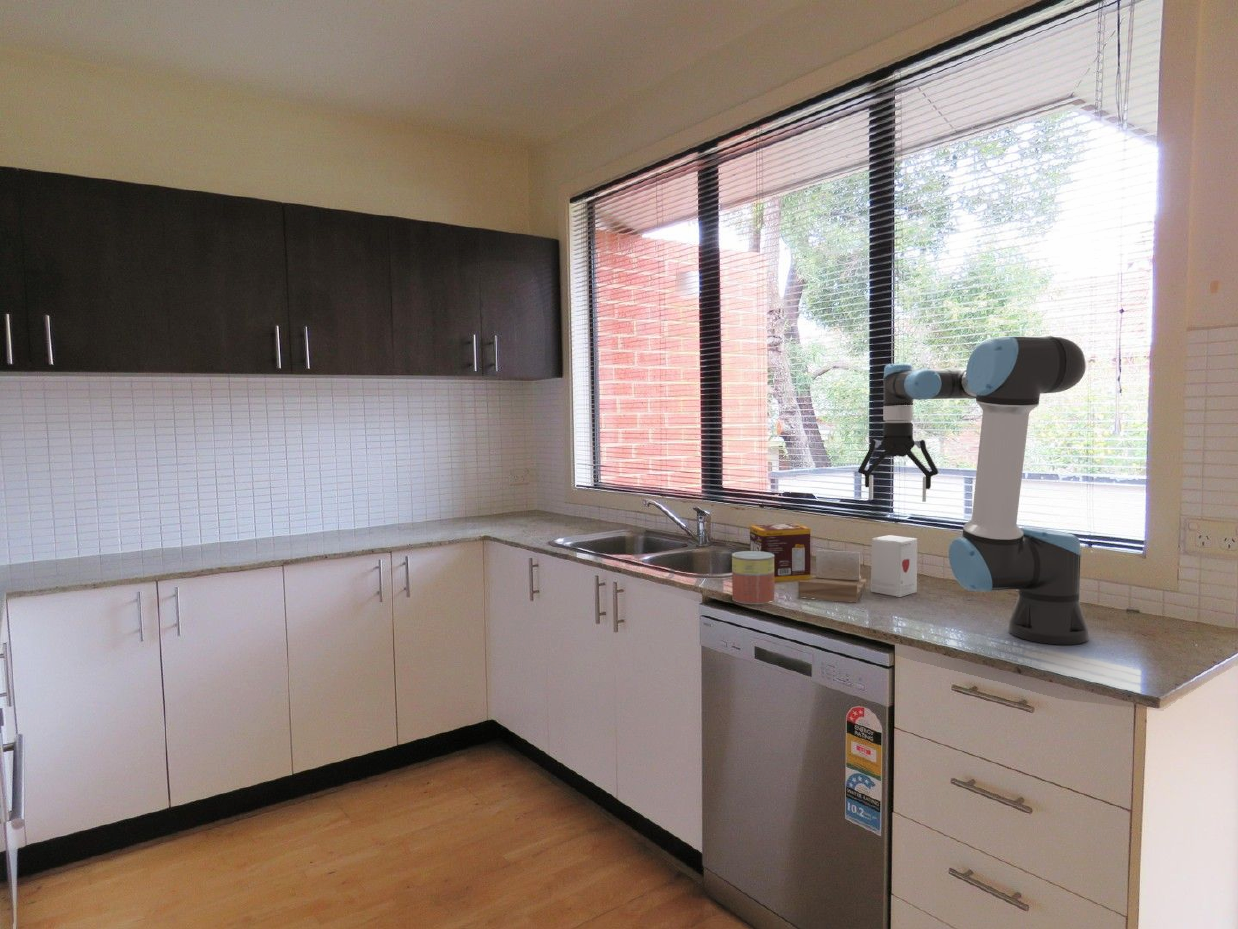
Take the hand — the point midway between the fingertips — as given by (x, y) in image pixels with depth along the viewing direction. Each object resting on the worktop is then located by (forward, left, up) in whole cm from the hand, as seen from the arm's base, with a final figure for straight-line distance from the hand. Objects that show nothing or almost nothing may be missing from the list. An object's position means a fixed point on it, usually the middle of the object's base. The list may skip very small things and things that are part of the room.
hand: (897, 500), depth 206 cm
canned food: (-20, +35, -26) cm, 48 cm away
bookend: (+5, +16, -23) cm, 29 cm away
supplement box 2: (0, +1, -26) cm, 26 cm away
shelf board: (-4, +16, -25) cm, 30 cm away
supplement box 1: (+8, +34, -26) cm, 43 cm away
